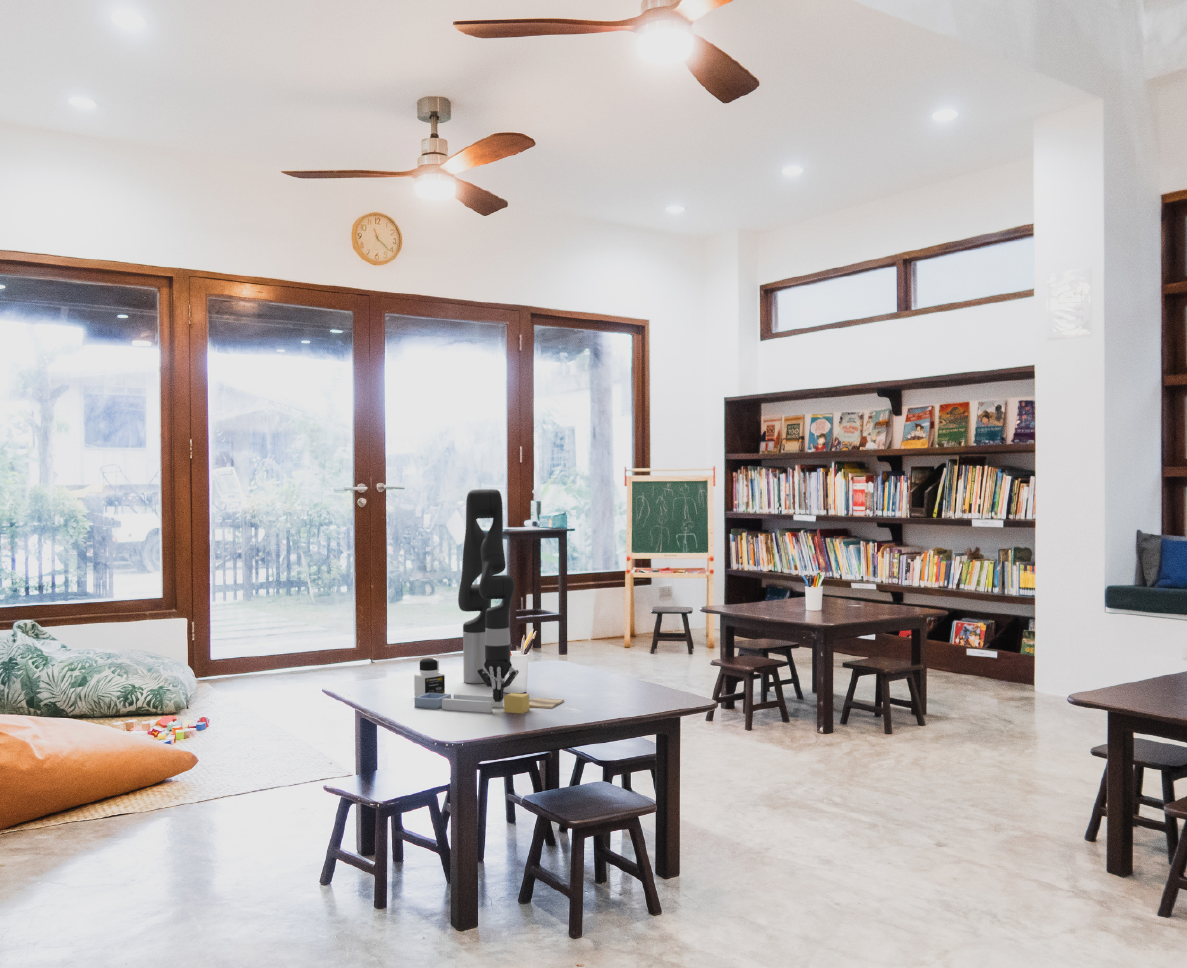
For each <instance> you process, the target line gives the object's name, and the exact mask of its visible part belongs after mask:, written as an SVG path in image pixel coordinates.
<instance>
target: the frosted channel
mask: <svg viewBox="0 0 1187 968" xmlns="http://www.w3.org/2000/svg"><path fill="white" fill-rule="evenodd" d="M493 708H500V709H501V708H504V698H503V699H502V701H501V702H495V700H494V699H493V695H483V694H466V693H455V694H453V698H451V699H445V698H444V699H442V707H441V710H447V711H462V712H472V713H473V712H475V713H487V714H488V713H490V714H491V713H493Z"/></svg>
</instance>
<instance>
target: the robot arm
mask: <svg viewBox="0 0 1187 968" xmlns="http://www.w3.org/2000/svg"><path fill="white" fill-rule="evenodd" d="M465 502H466V503H465V533H464V540H463V541H464V543H463V547H462V548H463V549H462V551H463V552H462V566H461V567H462V569H461V577H460V584H459V587H458V588H459V589H458V597H457V603H458V608H459V610H461V611H462V612H480V613H479V614H478V615H477V616H476V617H474V618H473V619H470V620H468V621H465V622H464V623H463V624H462V643H463V644H462V645H463V646H462V647H463V650H462V653H463V682H464V683H466V684H485V686H486V687H490V688H491V689H492V696H493V699H494V700H495V702H501V701H502V699H503V700H504V696H505V695H504V692H505V691H504V689H505V688H508V687H509V686H510V685H511V684H512V682H513V681H514V680H515V678H516V677H517V676H518V674H519V672H520V671H519V670H518V669H515V668H514V667H513V666H512V665H513V664H512V661H511V631H510V609H511V604H512V601H513V597H514V594H515V591H516V590H515V589H516V583H515V580H514V578H513V577H512V576H511V575H508V574H503V575H499V574H501V573H503V572H504V571H505V569H506V556H505V551H504V550H505V549H504V542H503V541H504V538H503V537H504V535H503V531H504V517H503V515H504V513H503V512H504V511H503V510H504V509H503V498H502V494H501V492H500V491H499V490H498V489H495V488H494V489H493V488H490V489H487V488H486V489H485V488H484V489H483V488H481V489H480V488H479V489H471V490H469V491H468V492H467V496H466V501H465ZM478 519H492V524H491V526H490V528H489V530H488V532H487V533H486V532H485V531H484V530H483V529H482V528H481V526H480V525H479V523H478ZM480 576H481V577H480ZM479 577H480V582H479V583H477V584H474V582H475V581H476V580H477V578H479ZM491 600H501V602H500V603H499V604H498V605H495V606H491ZM507 675H508V677H507ZM506 677H507V678H506Z"/></svg>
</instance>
